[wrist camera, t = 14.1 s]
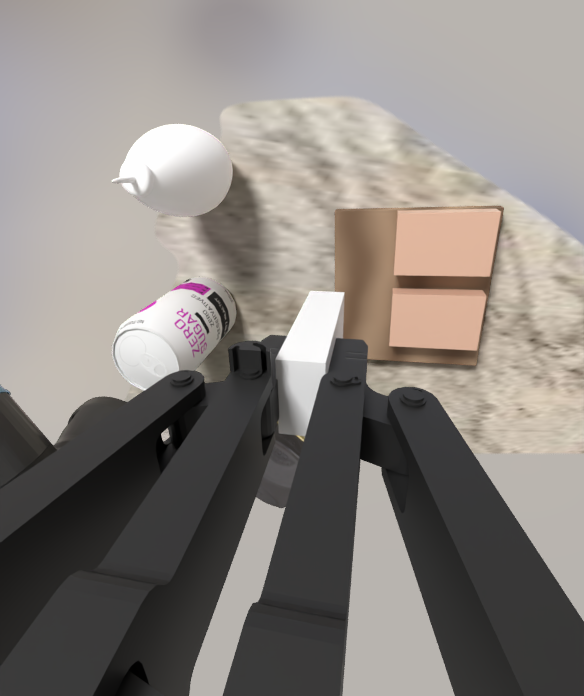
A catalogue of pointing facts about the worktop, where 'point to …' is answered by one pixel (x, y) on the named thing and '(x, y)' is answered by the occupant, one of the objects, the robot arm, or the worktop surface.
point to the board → (388, 283)
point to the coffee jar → (280, 469)
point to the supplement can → (174, 332)
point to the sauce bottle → (177, 170)
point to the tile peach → (445, 242)
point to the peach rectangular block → (436, 318)
